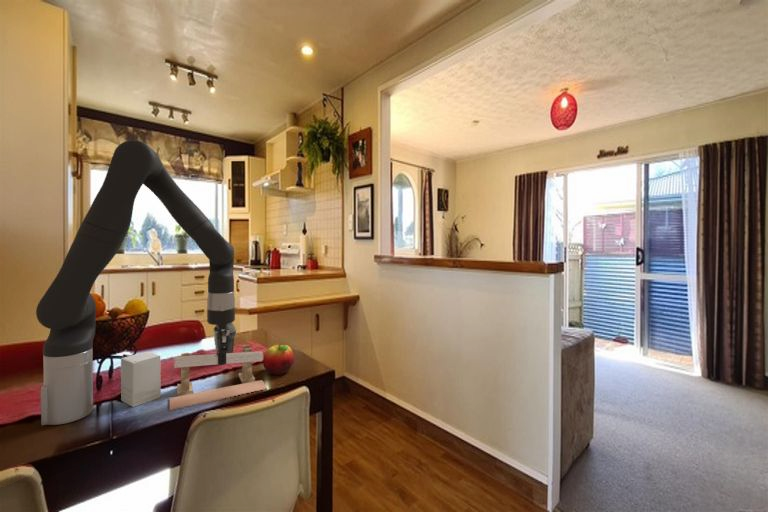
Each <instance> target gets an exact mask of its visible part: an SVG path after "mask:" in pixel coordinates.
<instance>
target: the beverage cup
mask: <svg viewBox="0 0 768 512" xmlns="http://www.w3.org/2000/svg"><path fill="white" fill-rule="evenodd" d="M227 326H228V328H229V344H228V352H226V353H234V348H235V347H234V346H235V337H236V332H237V330H236V329H237V328H236V326H235V323H234V322H232V323H228V324H227Z"/></svg>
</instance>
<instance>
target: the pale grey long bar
mask: <svg viewBox="0 0 768 512" xmlns="http://www.w3.org/2000/svg"><path fill="white" fill-rule="evenodd" d="M263 358H264V352H263V351H261V350H260V351H259V350H258V351H252V352H243V351H242V352H233V353H226V364H225V365H227V364H237V363H238V364H239V363H241V364H242V362H252V363H255V362H263ZM212 365H215V366H216V365H218V354H217V353H214V354H213V353H211V354H198V355H197V354H196V355H189V356H181V355H178V356H174V363H173V368H174V369H176V368H181V367H189V368H191V367H201V366H212Z"/></svg>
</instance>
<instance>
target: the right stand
mask: <svg viewBox="0 0 768 512" xmlns="http://www.w3.org/2000/svg"><path fill="white" fill-rule="evenodd" d="M242 352H253V348H252V347H250V344H243V345H242ZM241 367H242V369H241V373H240V372H239V373H238V378H239V380H240V383H241V384H244V383H249V382H254V381H256V377H255V376H254V373H253V370H252V369H253V362H242V363H241Z"/></svg>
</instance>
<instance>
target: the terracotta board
mask: <svg viewBox="0 0 768 512" xmlns="http://www.w3.org/2000/svg"><path fill="white" fill-rule="evenodd" d="M265 389H267V390H268V387H267V385H266V384H265V382H264V381H263V380H262V379H261V380H255V381H253V382H248V383H243V384H242V383H240V384H239V383H238V384H235V385H228V386H224V387H219V388H213V389H208V390H204V391H198V392H195V393H194V392H193V393H192V394H187V395H182V396H178V395H177V396H173V397H169V411H174V410H173V409H175V410H178V409H177V408H180V409H183V408H182V407H184V408H188V407H187V406H189V407H193V406H192V405H194V406H197V405H202V404H208V403H211V402H216V401H221V400H225V398H226V399H229V398H230V397H231V398H235V397H234V396H236V397H239V396H238V395H240V396H243V395H242V394H245V395H247V394H246V393H249V394H252V393H251V392H254V391H259V392H261V391H260V390H263V391H266V390H265ZM254 393H255V392H254Z"/></svg>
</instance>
